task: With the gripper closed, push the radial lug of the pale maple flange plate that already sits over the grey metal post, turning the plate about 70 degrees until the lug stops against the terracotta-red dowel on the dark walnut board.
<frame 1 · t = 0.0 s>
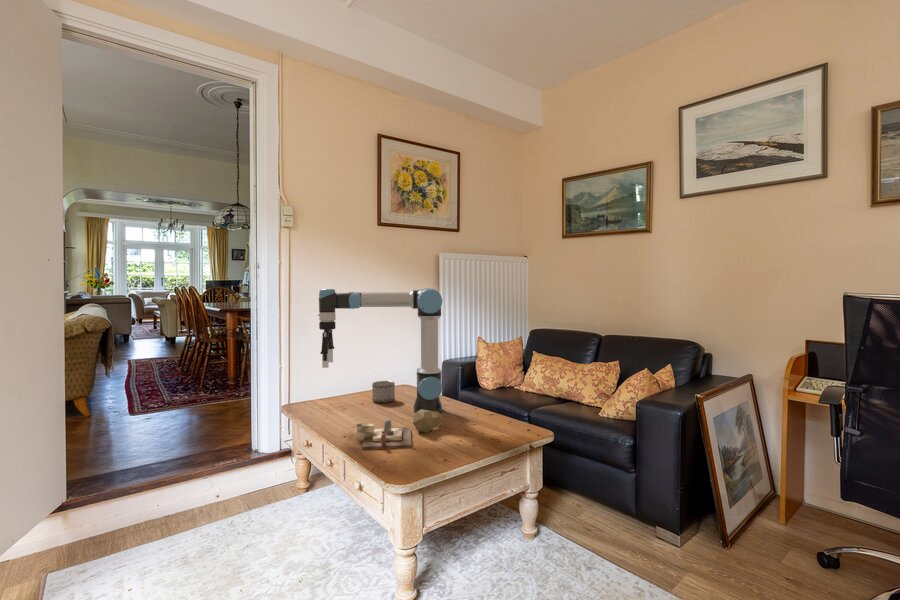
hand: (327, 364, 211), 28 cm above the table, fingers open, 13 cm apart
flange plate: (379, 430, 188), point 4 cm above the table, hinge at 0.0°
planter: (383, 401, 250), on the table
post board: (387, 439, 189), on the table
low-poly potato: (427, 431, 200), on the table
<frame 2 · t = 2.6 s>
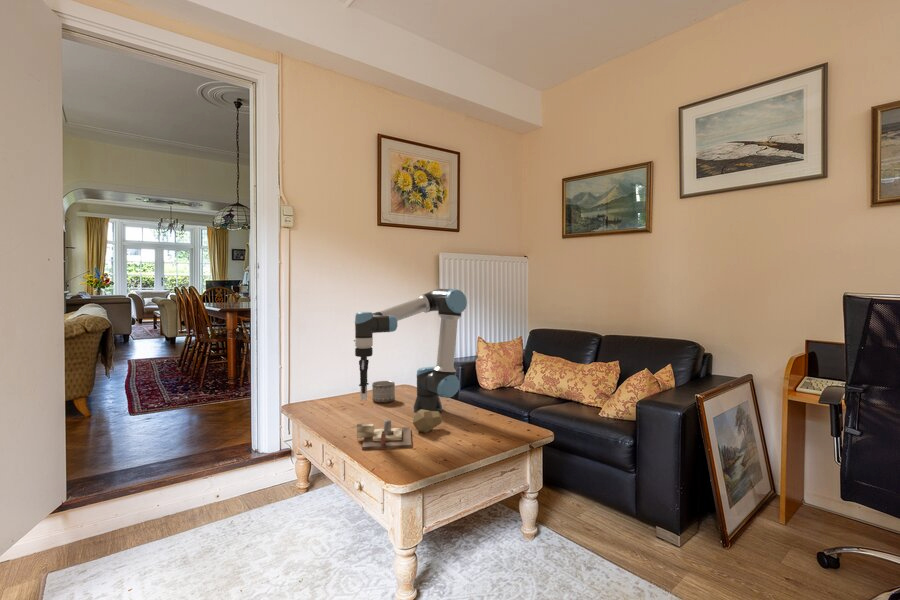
hand: (363, 400, 193), 16 cm above the table, fingers closed
nothing on the table moved.
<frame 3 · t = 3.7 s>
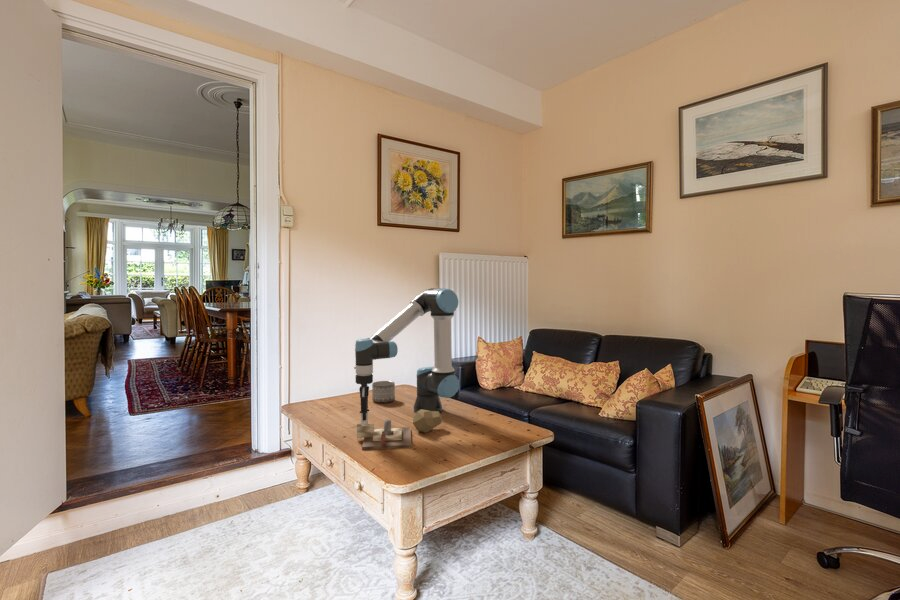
hand: (364, 426, 194), 4 cm above the table, fingers closed
nothing on the table moved.
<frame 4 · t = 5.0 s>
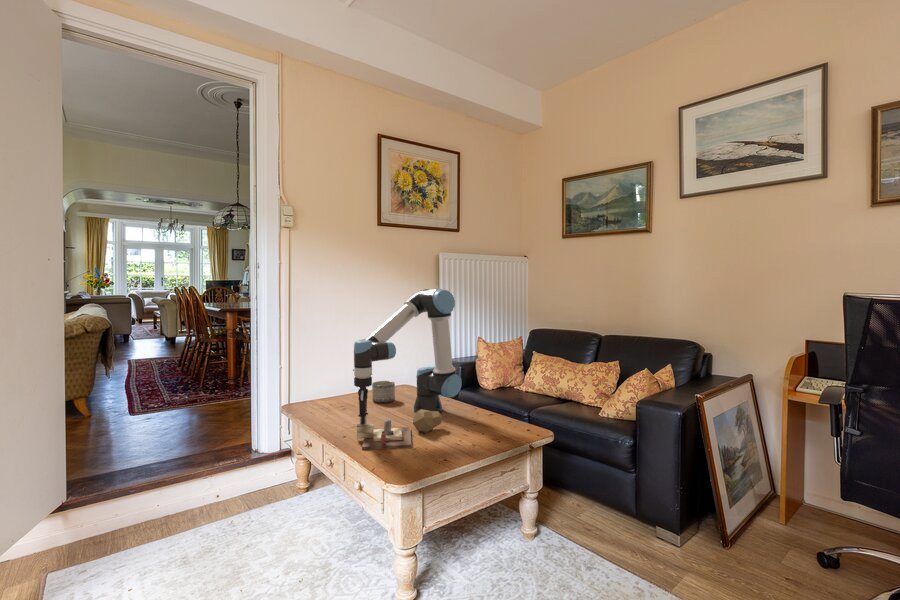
hand: (363, 430, 189), 4 cm above the table, fingers closed
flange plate: (379, 430, 188), point 4 cm above the table, hinge at 3.6°, touching gripper
everything else where it was.
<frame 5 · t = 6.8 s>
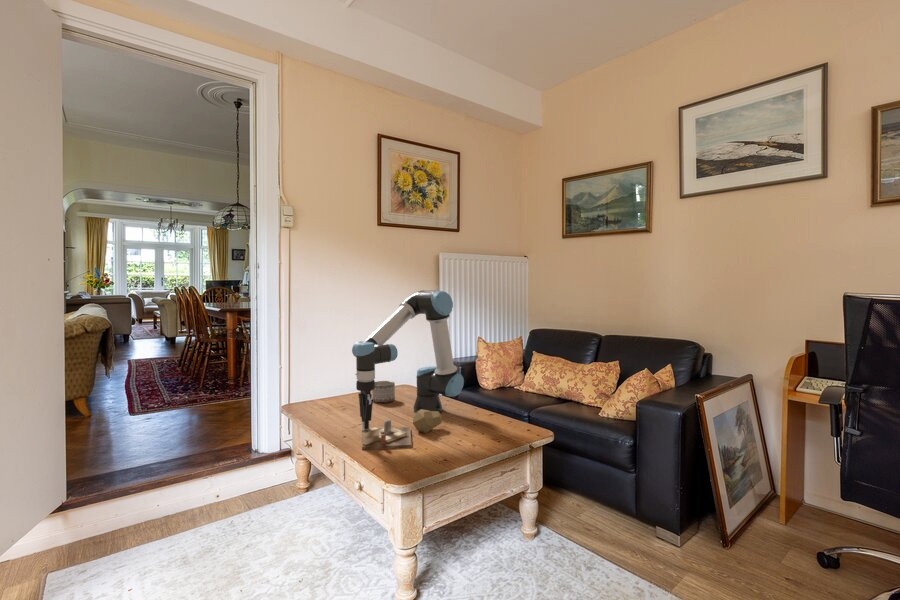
hand: (365, 435, 183), 4 cm above the table, fingers closed
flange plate: (381, 431, 186), point 4 cm above the table, hinge at 43.5°, touching gripper
everything else where it was.
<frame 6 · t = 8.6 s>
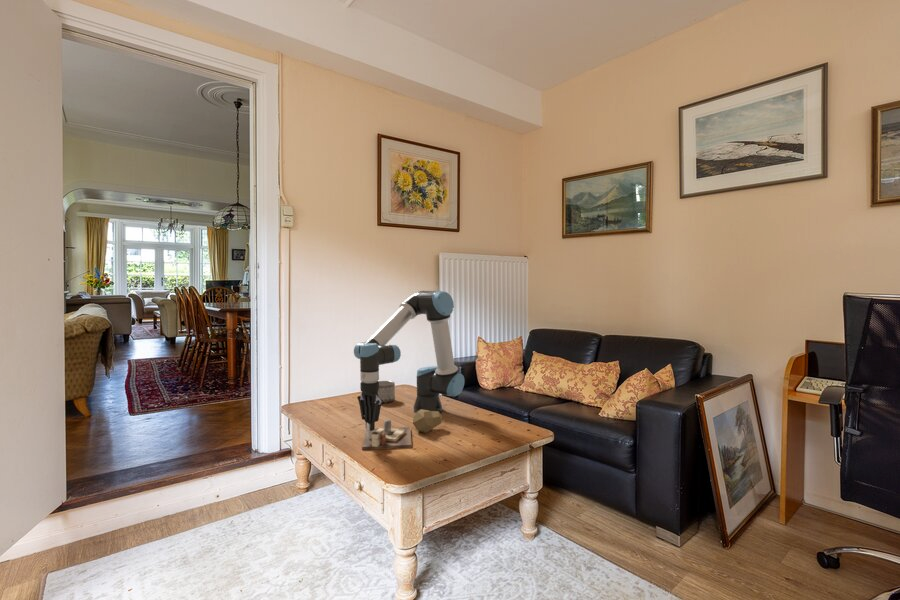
hand: (370, 437, 181), 4 cm above the table, fingers closed
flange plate: (384, 432, 185), point 4 cm above the table, hinge at 67.9°
everything else where it was.
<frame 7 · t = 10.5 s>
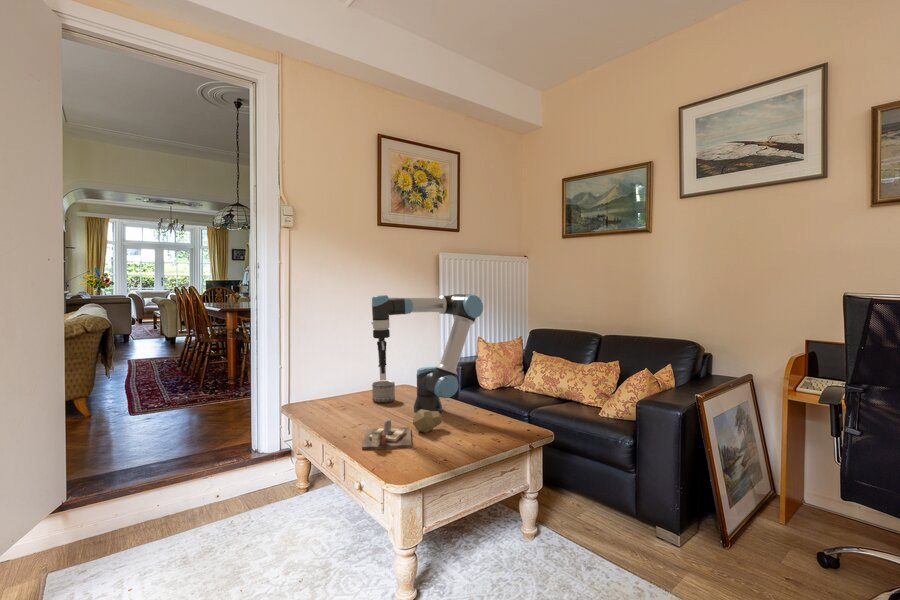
hand: (383, 379, 201), 23 cm above the table, fingers closed
nothing on the table moved.
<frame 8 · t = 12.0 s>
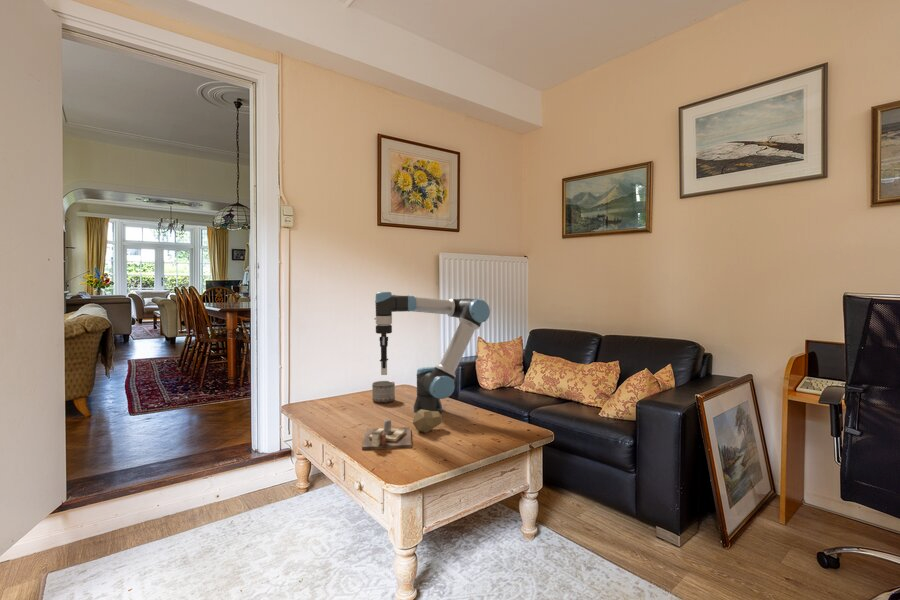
hand: (384, 374, 206), 24 cm above the table, fingers closed
nothing on the table moved.
at the end: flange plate at +68° (first picture: +0°); the gripper is holding nothing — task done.
